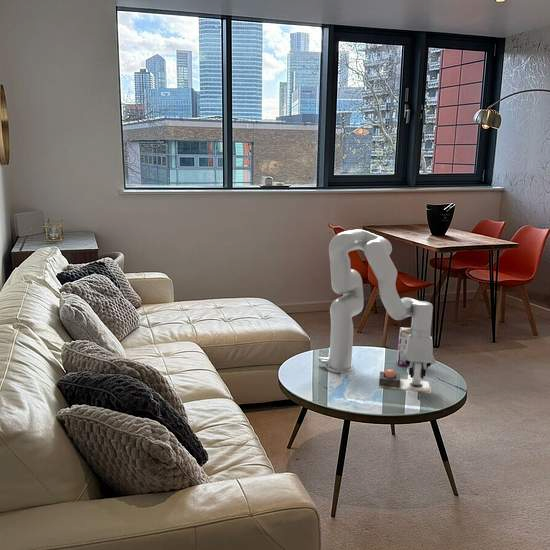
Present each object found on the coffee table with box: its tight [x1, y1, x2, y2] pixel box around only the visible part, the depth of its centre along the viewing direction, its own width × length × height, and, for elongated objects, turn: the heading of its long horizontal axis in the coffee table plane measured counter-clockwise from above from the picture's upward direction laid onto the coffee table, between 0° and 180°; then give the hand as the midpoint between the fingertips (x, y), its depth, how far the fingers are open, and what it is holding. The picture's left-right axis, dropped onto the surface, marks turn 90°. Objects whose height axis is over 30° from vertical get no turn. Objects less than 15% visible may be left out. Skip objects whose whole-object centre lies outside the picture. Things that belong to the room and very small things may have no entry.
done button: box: [384, 368, 396, 378], centre depth 233 cm, size 4×4×4 cm
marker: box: [411, 362, 422, 385], centre depth 231 cm, size 3×3×11 cm
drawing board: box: [378, 371, 432, 394], centre depth 232 cm, size 20×12×4 cm, turn 79°
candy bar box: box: [396, 326, 423, 367], centre depth 257 cm, size 11×5×16 cm, turn 84°
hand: (416, 376), depth 231 cm, fingers open, 3 cm apart
